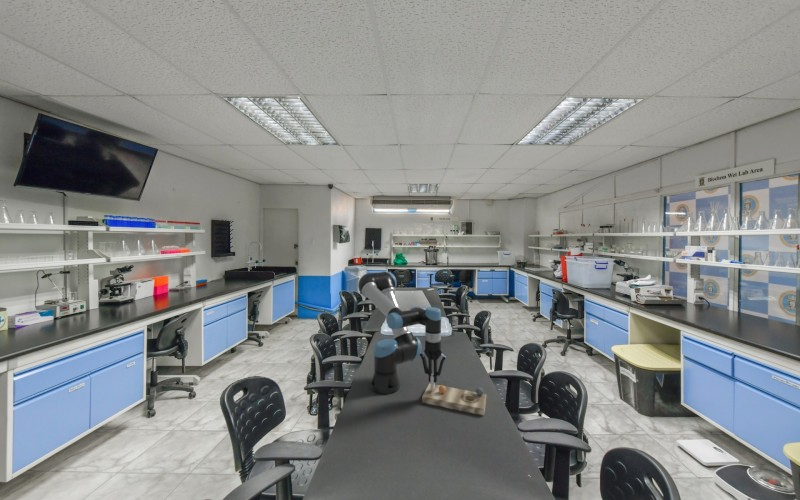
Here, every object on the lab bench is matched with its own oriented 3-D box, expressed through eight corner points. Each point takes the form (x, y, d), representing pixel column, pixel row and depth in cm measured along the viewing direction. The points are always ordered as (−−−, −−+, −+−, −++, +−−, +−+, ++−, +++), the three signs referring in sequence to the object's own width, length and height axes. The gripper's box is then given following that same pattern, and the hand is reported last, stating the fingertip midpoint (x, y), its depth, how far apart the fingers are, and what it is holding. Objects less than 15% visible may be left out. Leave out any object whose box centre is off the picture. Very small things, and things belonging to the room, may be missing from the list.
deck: (422, 402, 140) (422, 396, 140) (429, 389, 152) (429, 383, 152) (483, 415, 130) (484, 409, 130) (486, 400, 142) (486, 394, 142)
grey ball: (475, 396, 140) (475, 388, 140) (476, 392, 143) (476, 385, 143) (483, 397, 139) (483, 390, 139) (483, 393, 142) (483, 386, 142)
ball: (437, 393, 142) (437, 386, 142) (439, 390, 145) (439, 383, 145) (445, 395, 141) (445, 388, 141) (446, 391, 144) (446, 384, 144)
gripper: (417, 341, 142) (417, 389, 143) (444, 344, 137) (444, 394, 138) (422, 336, 149) (422, 382, 150) (448, 339, 144) (447, 387, 145)
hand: (432, 388), depth 144 cm, fingers closed
